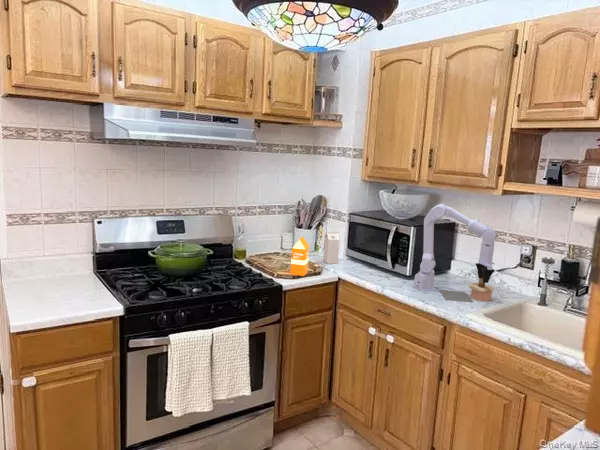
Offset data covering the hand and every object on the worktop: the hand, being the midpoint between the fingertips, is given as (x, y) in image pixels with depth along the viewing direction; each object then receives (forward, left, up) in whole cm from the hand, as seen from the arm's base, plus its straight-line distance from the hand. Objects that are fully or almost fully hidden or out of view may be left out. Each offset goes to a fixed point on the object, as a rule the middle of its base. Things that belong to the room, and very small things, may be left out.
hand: (483, 280), depth 217 cm
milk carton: (-33, +83, -10) cm, 90 cm away
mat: (-10, +7, -9) cm, 15 cm away
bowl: (0, 0, -9) cm, 9 cm away
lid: (0, 0, -4) cm, 4 cm away
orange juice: (-63, +69, -10) cm, 94 cm away
